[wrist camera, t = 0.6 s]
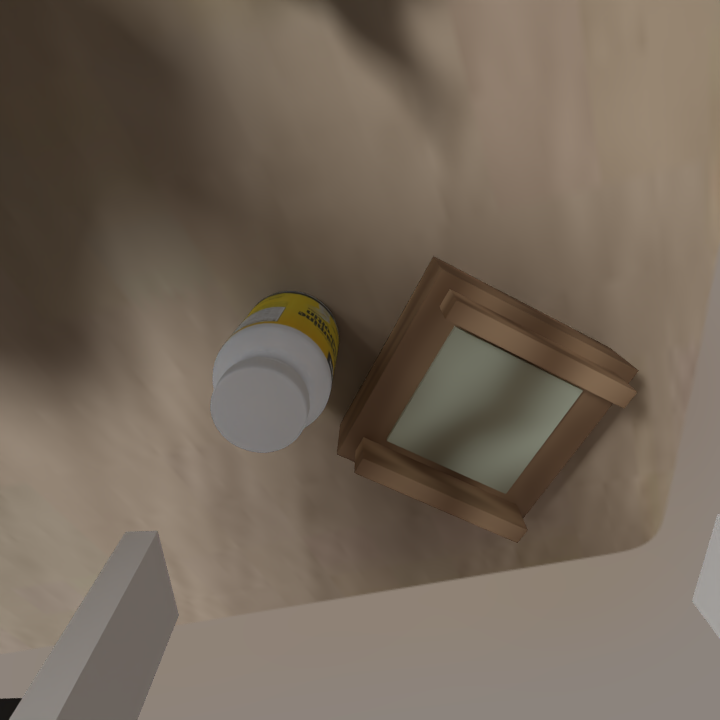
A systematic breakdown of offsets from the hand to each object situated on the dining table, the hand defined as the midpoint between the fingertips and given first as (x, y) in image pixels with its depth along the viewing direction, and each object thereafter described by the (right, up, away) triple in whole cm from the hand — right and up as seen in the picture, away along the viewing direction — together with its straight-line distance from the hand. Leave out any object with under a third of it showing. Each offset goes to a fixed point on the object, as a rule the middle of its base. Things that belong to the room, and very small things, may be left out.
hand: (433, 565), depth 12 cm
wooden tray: (+6, +3, +24) cm, 25 cm away
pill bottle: (-6, +7, +23) cm, 25 cm away
